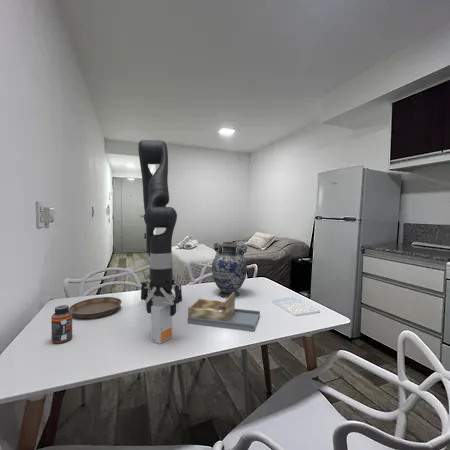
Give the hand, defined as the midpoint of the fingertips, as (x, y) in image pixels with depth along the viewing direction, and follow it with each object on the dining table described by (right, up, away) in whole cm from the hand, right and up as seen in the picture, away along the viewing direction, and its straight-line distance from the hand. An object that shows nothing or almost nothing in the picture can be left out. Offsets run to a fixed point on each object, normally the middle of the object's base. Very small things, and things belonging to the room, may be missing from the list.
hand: (161, 313), depth 87 cm
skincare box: (0, -9, +1) cm, 9 cm away
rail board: (+22, -8, +17) cm, 29 cm away
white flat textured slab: (+54, -9, +33) cm, 64 cm away
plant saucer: (-35, -8, +26) cm, 45 cm away
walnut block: (+22, -6, +20) cm, 30 cm away
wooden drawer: (+16, -7, +19) cm, 26 cm away
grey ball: (+20, -7, +15) cm, 25 cm away
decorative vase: (+24, -7, +51) cm, 57 cm away
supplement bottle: (-33, -9, 0) cm, 35 cm away
